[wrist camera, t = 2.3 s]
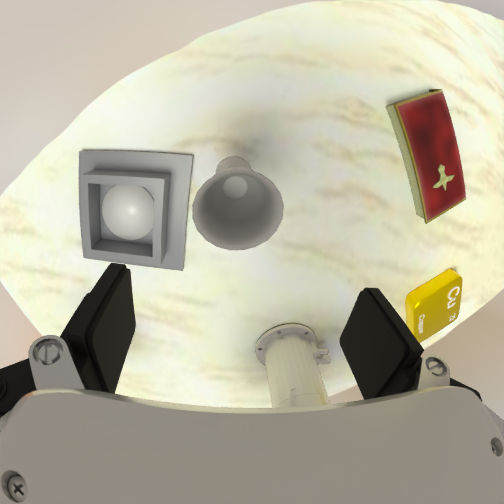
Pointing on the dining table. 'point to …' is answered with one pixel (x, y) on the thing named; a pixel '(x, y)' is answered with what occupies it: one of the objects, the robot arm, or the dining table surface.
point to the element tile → (433, 305)
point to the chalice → (237, 207)
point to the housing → (134, 206)
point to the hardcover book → (429, 152)
